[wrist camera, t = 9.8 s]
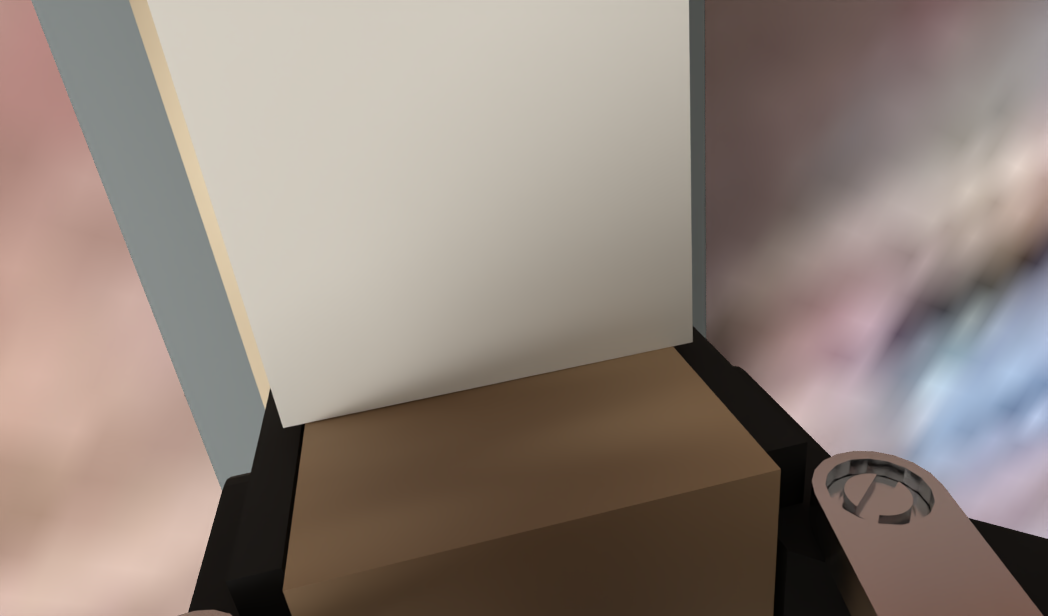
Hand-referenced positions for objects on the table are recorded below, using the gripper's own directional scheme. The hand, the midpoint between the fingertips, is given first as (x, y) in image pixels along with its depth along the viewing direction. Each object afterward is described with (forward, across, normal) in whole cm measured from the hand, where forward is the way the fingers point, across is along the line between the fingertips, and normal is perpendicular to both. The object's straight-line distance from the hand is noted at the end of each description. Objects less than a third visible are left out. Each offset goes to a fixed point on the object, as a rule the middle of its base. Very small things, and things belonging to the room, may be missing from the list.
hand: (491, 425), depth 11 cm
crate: (+3, 0, -4) cm, 5 cm away
